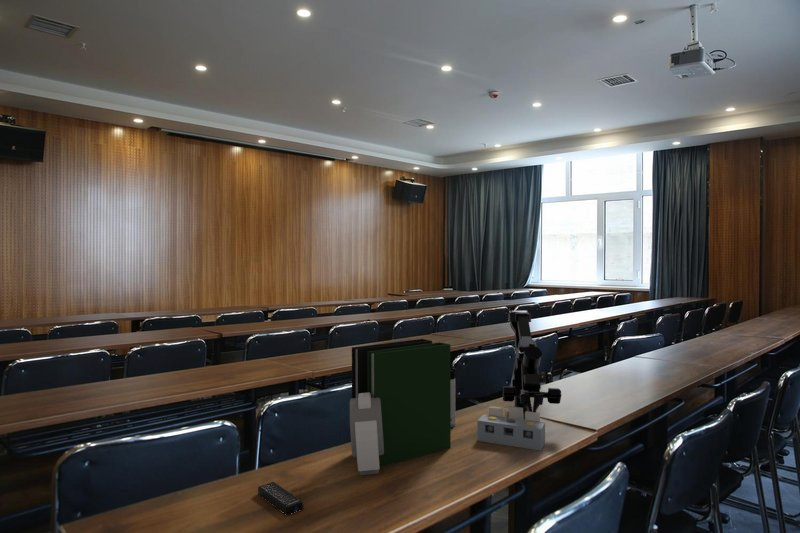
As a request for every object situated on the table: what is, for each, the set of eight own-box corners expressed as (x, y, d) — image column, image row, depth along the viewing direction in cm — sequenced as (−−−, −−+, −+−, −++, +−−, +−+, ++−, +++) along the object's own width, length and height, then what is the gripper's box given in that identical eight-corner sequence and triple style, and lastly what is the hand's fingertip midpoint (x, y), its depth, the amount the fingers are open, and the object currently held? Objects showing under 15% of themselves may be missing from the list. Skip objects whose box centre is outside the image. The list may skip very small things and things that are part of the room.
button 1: (489, 424, 166) (489, 406, 166) (502, 426, 164) (502, 408, 164) (483, 431, 159) (483, 412, 159) (497, 433, 157) (497, 414, 157)
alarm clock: (354, 453, 148) (350, 386, 147) (383, 450, 148) (379, 384, 147) (353, 482, 130) (348, 406, 129) (385, 479, 130) (381, 403, 129)
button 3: (525, 429, 161) (525, 411, 161) (540, 431, 159) (540, 412, 159) (520, 436, 154) (520, 417, 154) (535, 439, 152) (535, 419, 152)
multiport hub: (273, 490, 126) (273, 481, 126) (303, 511, 115) (303, 501, 115) (257, 495, 123) (257, 486, 123) (286, 517, 112) (286, 507, 112)
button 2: (509, 424, 166) (509, 406, 166) (523, 425, 164) (523, 407, 164) (504, 430, 160) (504, 412, 160) (518, 432, 158) (518, 414, 158)
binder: (376, 469, 138) (375, 354, 137) (349, 452, 150) (349, 346, 149) (450, 448, 153) (450, 344, 153) (421, 434, 165) (420, 338, 165)
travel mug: (455, 428, 171) (455, 370, 171) (436, 427, 172) (436, 369, 172) (457, 423, 177) (457, 366, 177) (438, 421, 178) (438, 366, 178)
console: (483, 433, 166) (483, 413, 166) (545, 443, 157) (545, 421, 157) (477, 440, 159) (477, 419, 159) (541, 450, 151) (541, 428, 151)
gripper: (503, 362, 168) (503, 404, 157) (560, 364, 164) (565, 407, 154) (502, 380, 175) (503, 421, 165) (557, 382, 172) (561, 424, 161)
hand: (532, 418), depth 161 cm, fingers closed
